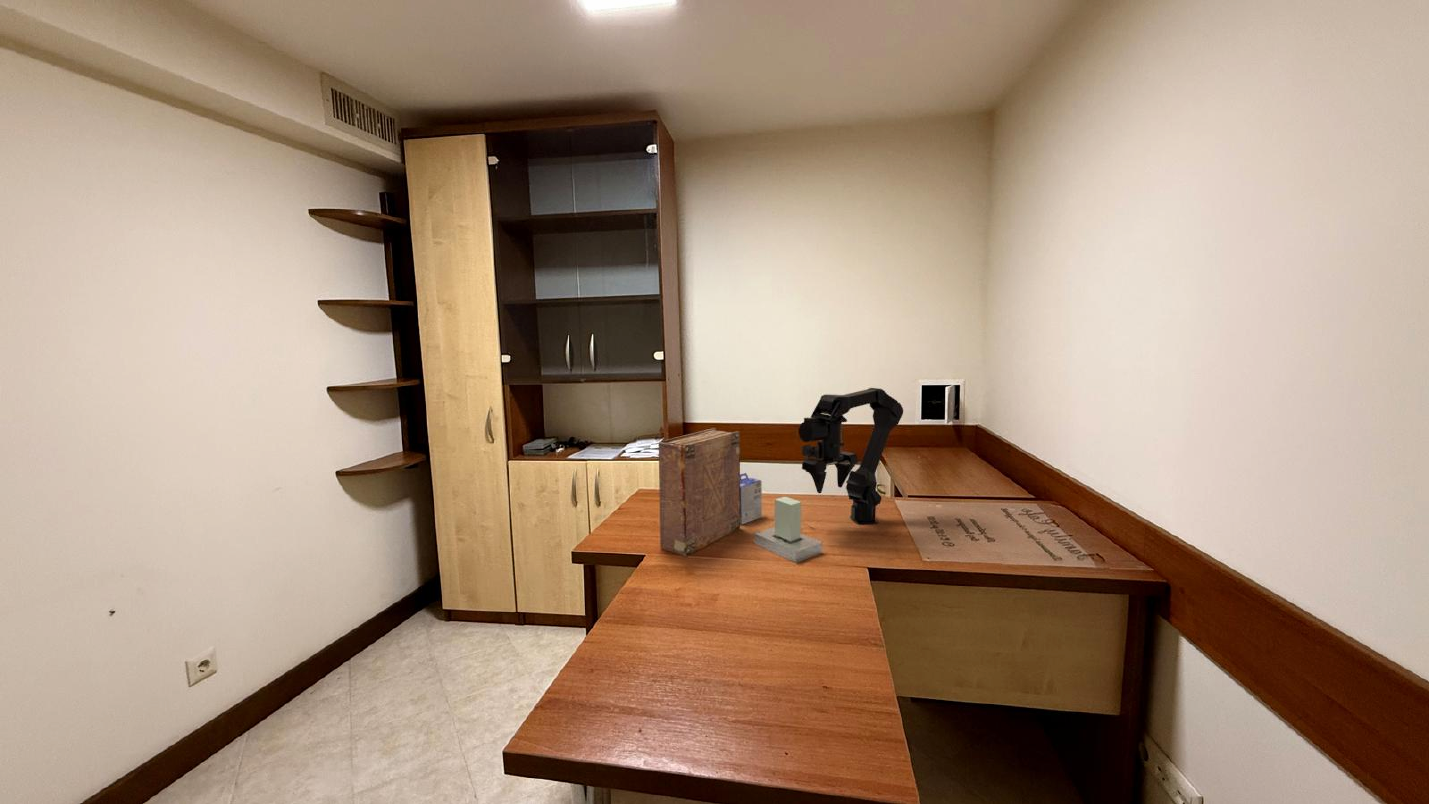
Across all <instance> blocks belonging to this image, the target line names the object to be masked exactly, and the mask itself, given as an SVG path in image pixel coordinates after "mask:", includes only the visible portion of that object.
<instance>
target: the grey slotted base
mask: <svg viewBox="0 0 1429 804" xmlns="http://www.w3.org/2000/svg"><path fill="white" fill-rule="evenodd" d="M774 532H775V526H772V527H769V528H767V529H763V530H759V531H757V532H754V534H753V535H754V536H753V543H754V544H755V545H757V546H759V547H761V548H763V549H765V550H768V551H769V552H772V553H774V554H776V555H778V556H780V557H782V558H785V559H787V560H788V561H791V562H793V563H796V564H797V563H799V562H802V561H806V560H808V559H810V558H812V557H815V556H817V555H820V554H822V553H823V541H821V540H817V539H816V538H813V537H810V536H809V535H805V534H803V533H801V538H800V541H798V542H795V543H792V544H788V543H786V539H784V538H780V539H777V538H775V534H774Z"/></svg>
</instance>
